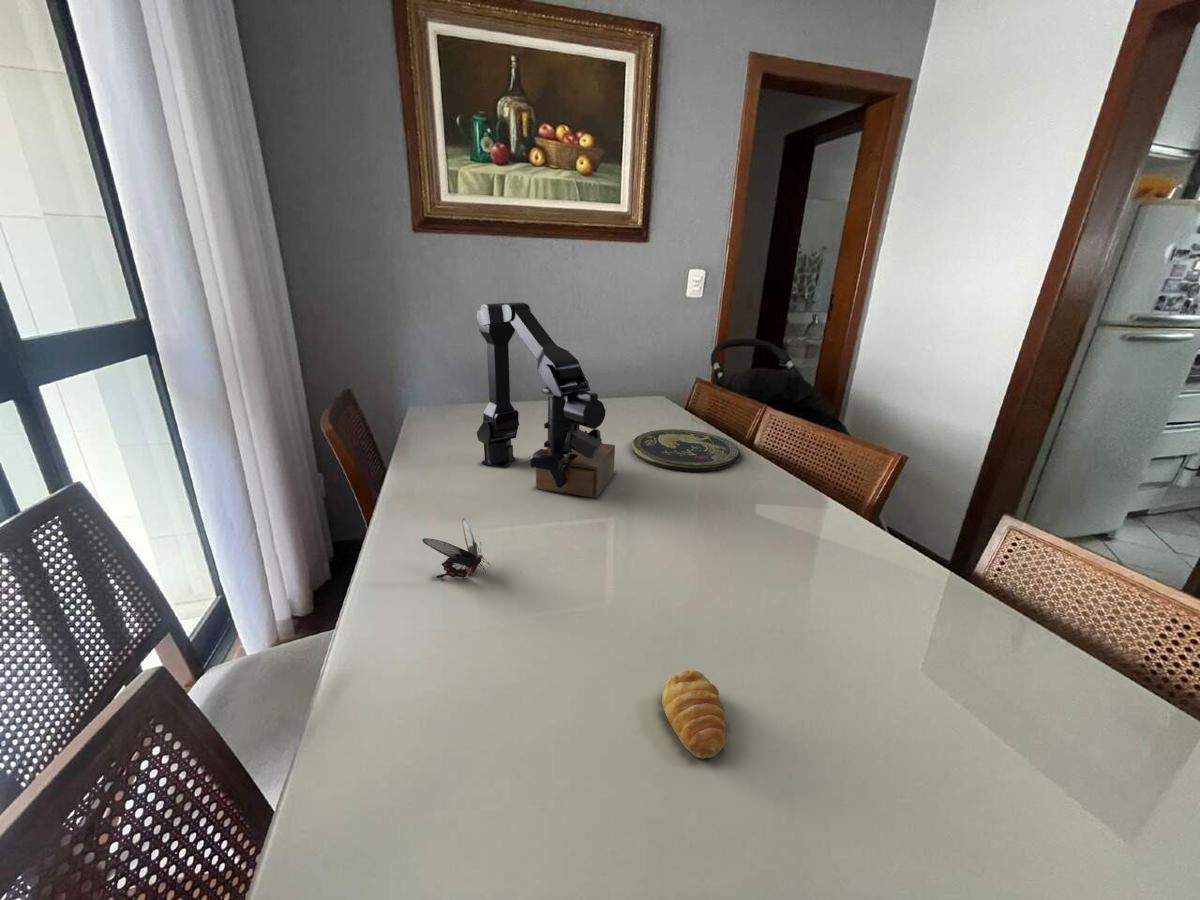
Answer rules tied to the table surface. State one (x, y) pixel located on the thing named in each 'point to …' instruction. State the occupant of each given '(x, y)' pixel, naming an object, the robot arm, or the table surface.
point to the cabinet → (596, 467)
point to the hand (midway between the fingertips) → (560, 487)
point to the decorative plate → (686, 450)
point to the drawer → (568, 481)
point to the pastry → (695, 713)
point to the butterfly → (458, 554)
